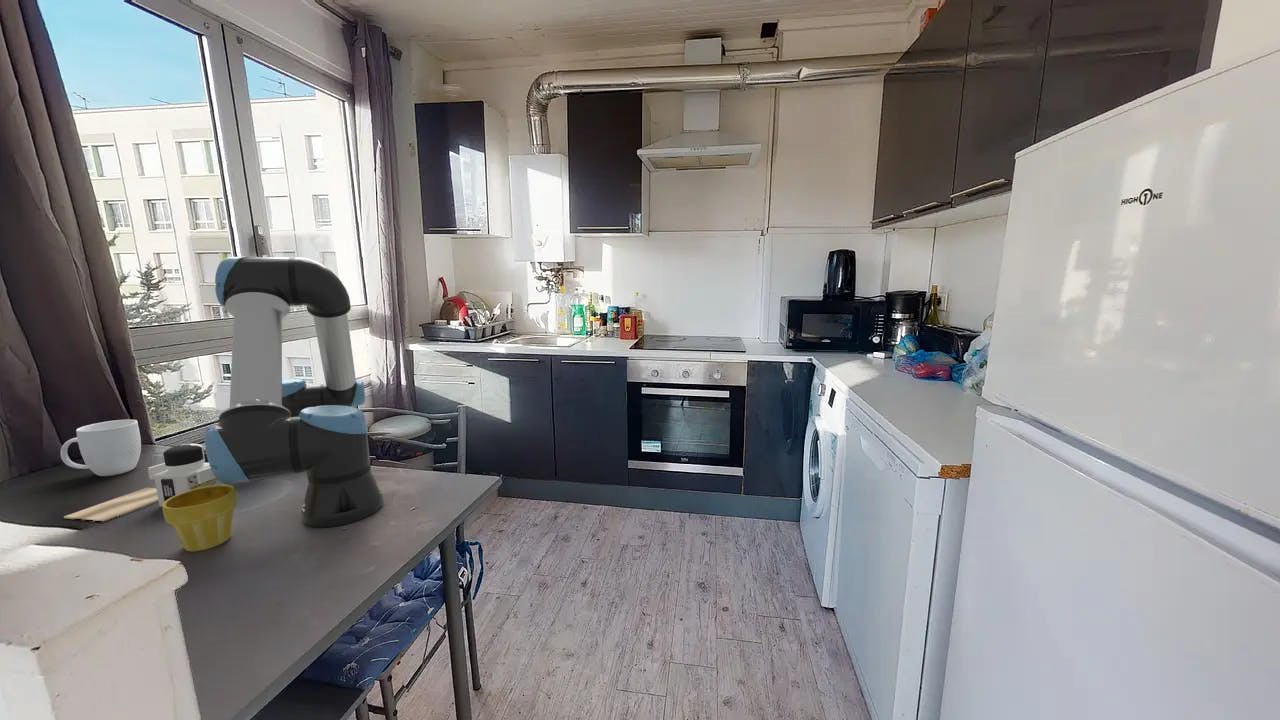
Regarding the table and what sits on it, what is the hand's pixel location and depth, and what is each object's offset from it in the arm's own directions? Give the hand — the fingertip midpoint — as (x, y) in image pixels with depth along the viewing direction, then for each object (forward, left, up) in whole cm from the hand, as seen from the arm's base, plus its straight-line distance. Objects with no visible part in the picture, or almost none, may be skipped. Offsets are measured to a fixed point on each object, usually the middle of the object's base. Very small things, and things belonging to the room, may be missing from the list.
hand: (173, 475), depth 107 cm
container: (0, -3, -7) cm, 8 cm away
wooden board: (+12, +2, -7) cm, 14 cm away
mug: (+40, -13, -7) cm, 42 cm away
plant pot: (-24, +12, -7) cm, 28 cm away
